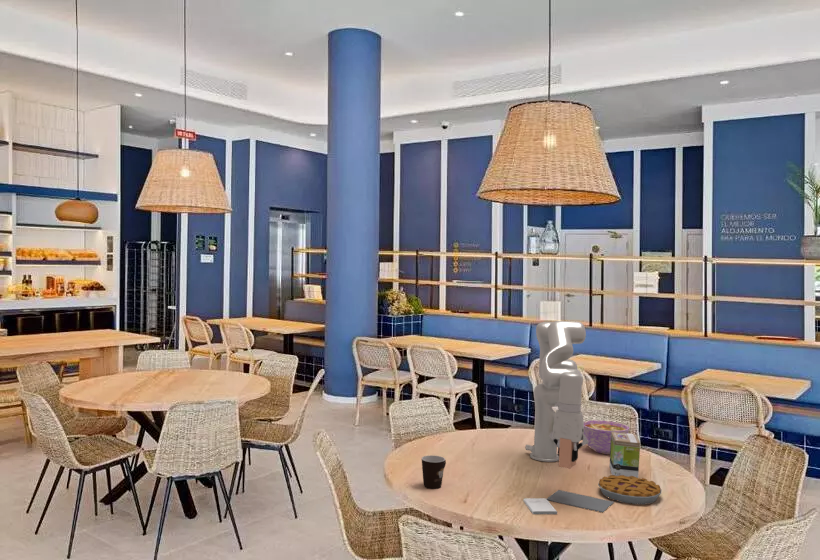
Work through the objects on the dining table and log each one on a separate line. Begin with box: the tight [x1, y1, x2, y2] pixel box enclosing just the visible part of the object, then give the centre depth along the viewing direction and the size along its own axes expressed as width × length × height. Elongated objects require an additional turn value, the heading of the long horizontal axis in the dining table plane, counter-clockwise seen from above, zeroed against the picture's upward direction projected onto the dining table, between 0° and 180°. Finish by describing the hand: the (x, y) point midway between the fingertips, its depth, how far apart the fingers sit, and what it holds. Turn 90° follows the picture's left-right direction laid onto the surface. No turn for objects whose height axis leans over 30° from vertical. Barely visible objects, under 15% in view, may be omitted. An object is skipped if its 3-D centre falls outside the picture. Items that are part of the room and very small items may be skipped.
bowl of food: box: [584, 419, 630, 455], centre depth 304 cm, size 20×20×12 cm
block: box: [558, 438, 577, 470], centre depth 240 cm, size 4×6×10 cm, turn 147°
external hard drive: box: [523, 497, 558, 515], centre depth 231 cm, size 2×8×12 cm
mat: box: [546, 489, 615, 513], centre depth 238 cm, size 20×12×1 cm, turn 57°
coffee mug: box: [421, 454, 447, 490], centre depth 250 cm, size 12×9×10 cm
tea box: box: [608, 432, 641, 478], centre depth 272 cm, size 15×10×15 cm, turn 168°
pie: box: [597, 474, 662, 505], centre depth 247 cm, size 22×22×5 cm
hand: (567, 459), depth 240 cm, fingers closed on block, 4 cm apart
